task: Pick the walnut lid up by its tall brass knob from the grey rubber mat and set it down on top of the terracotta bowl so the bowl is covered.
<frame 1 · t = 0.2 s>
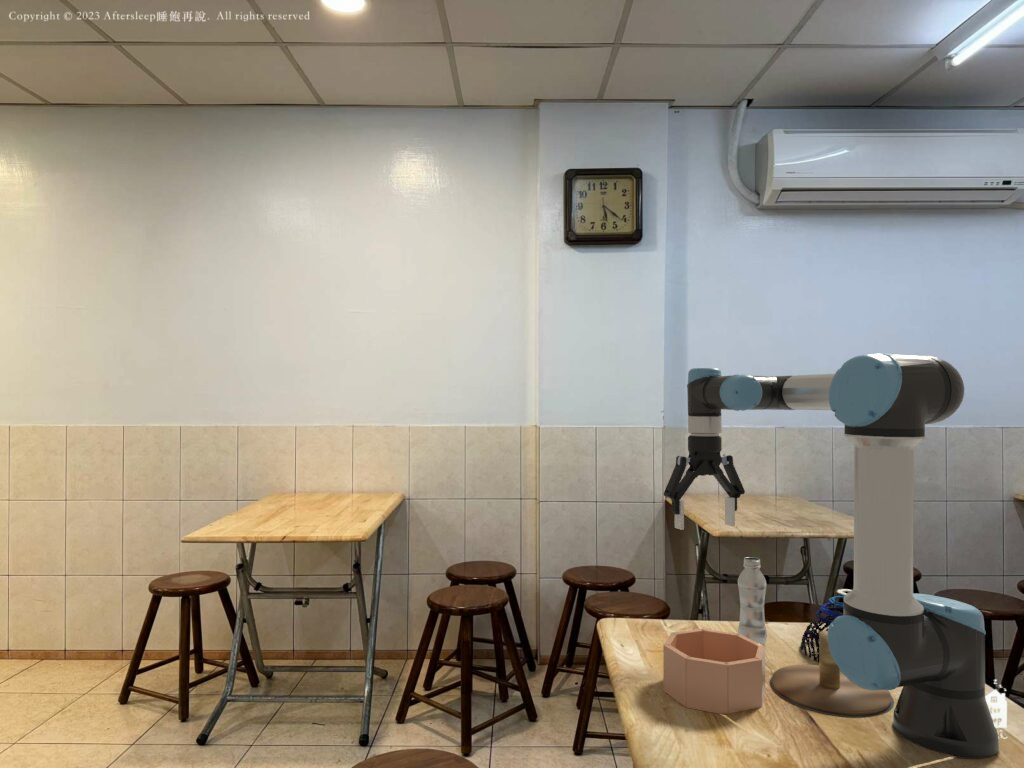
hand: (704, 527, 158), 28 cm above the table, fingers open, 13 cm apart
lid: (829, 690, 134), resting on mat
bowl: (714, 691, 134), on the table
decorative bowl: (850, 658, 153), on the table
plastic bottle: (752, 646, 159), on the table
mat: (829, 692, 134), on the table
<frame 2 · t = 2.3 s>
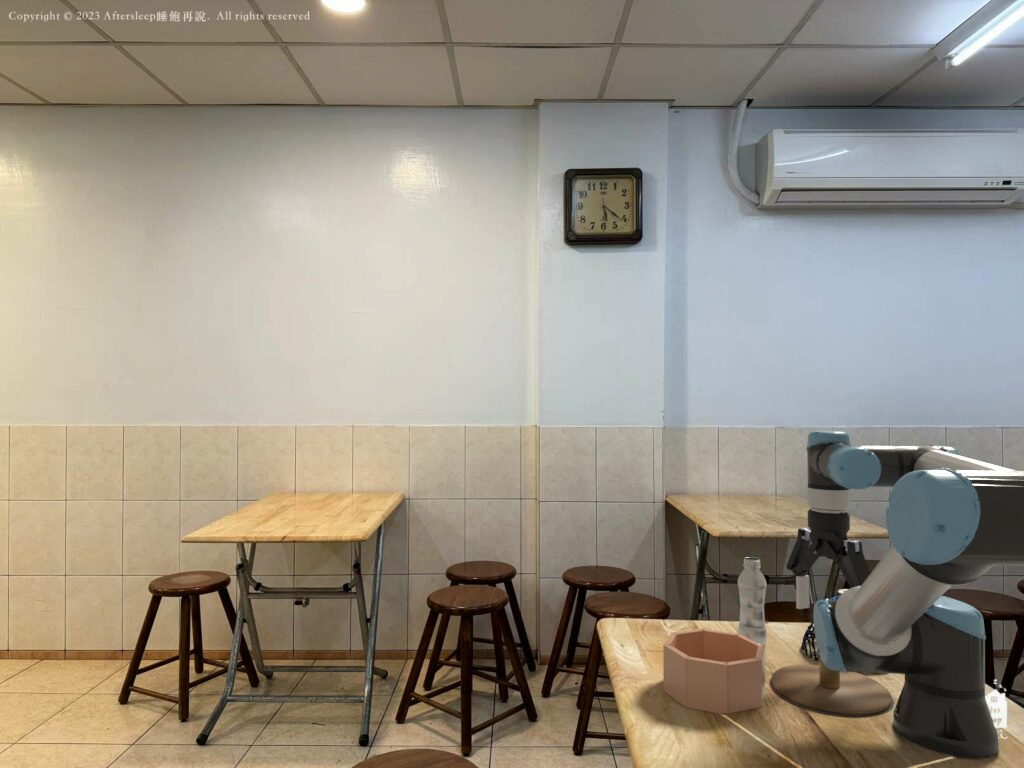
hand: (828, 618, 134), 14 cm above the table, fingers open, 13 cm apart
nothing on the table moved.
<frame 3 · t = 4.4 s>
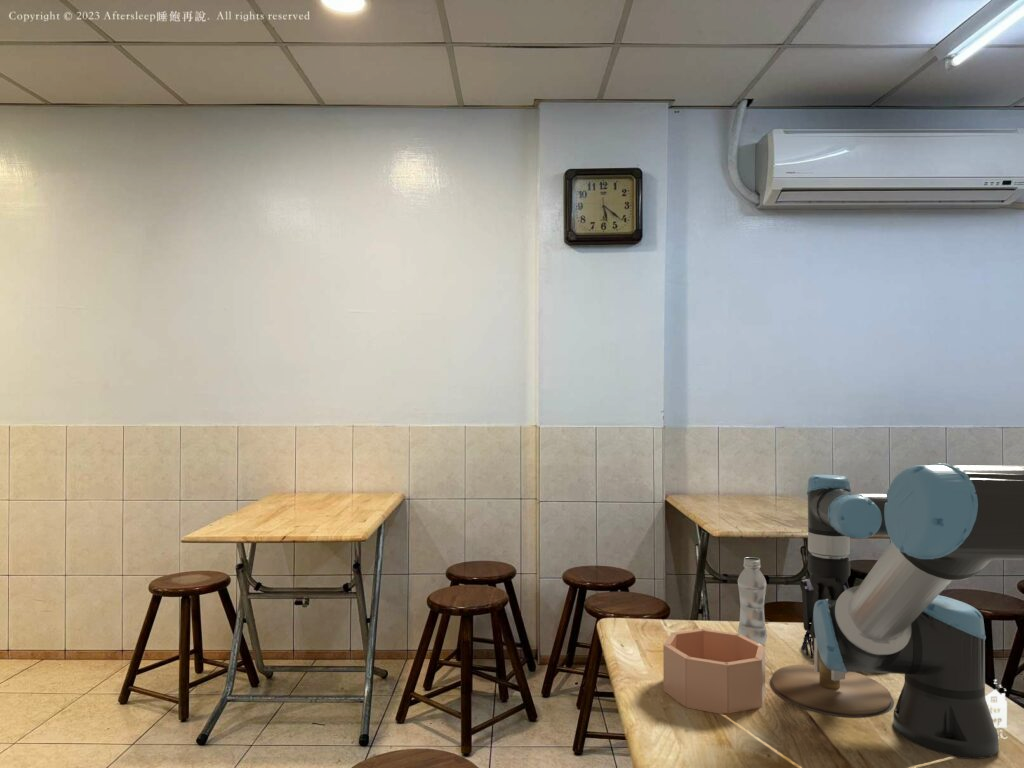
hand: (829, 674, 134), 4 cm above the table, fingers closed on lid, 4 cm apart
lid: (829, 690, 134), resting on mat, touching gripper
everything else where it was.
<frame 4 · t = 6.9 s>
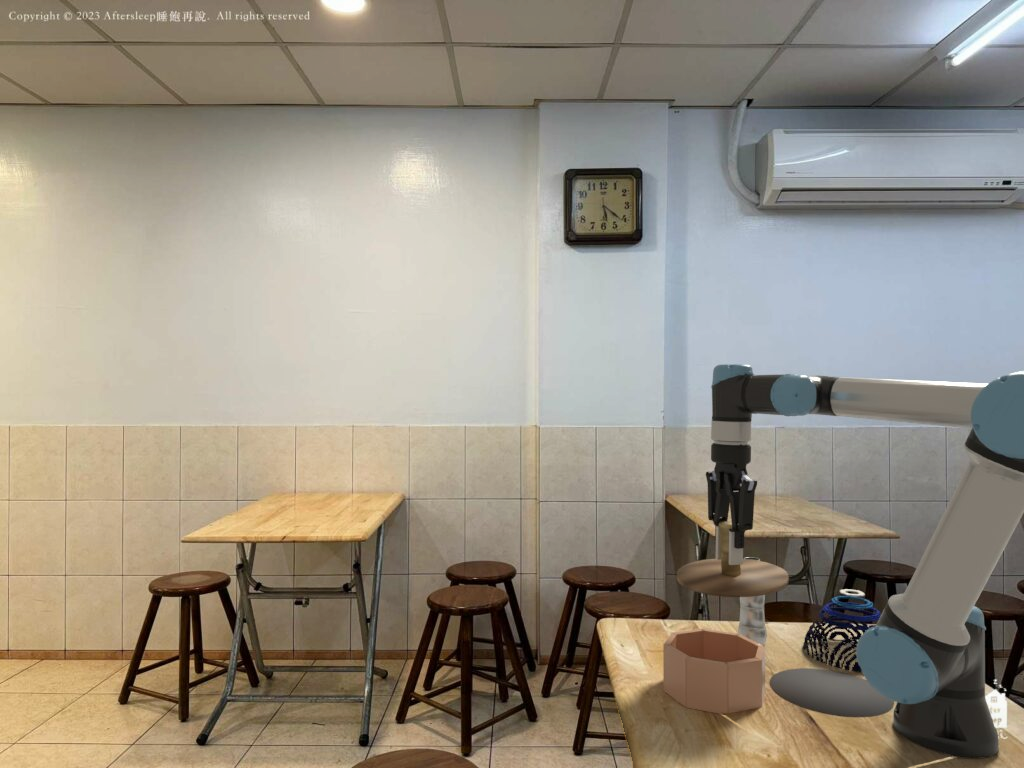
hand: (729, 561, 135), 25 cm above the table, fingers closed on lid, 4 cm apart
lid: (731, 578, 135), point 22 cm above the table, tilted 5°, touching gripper
everything else where it was.
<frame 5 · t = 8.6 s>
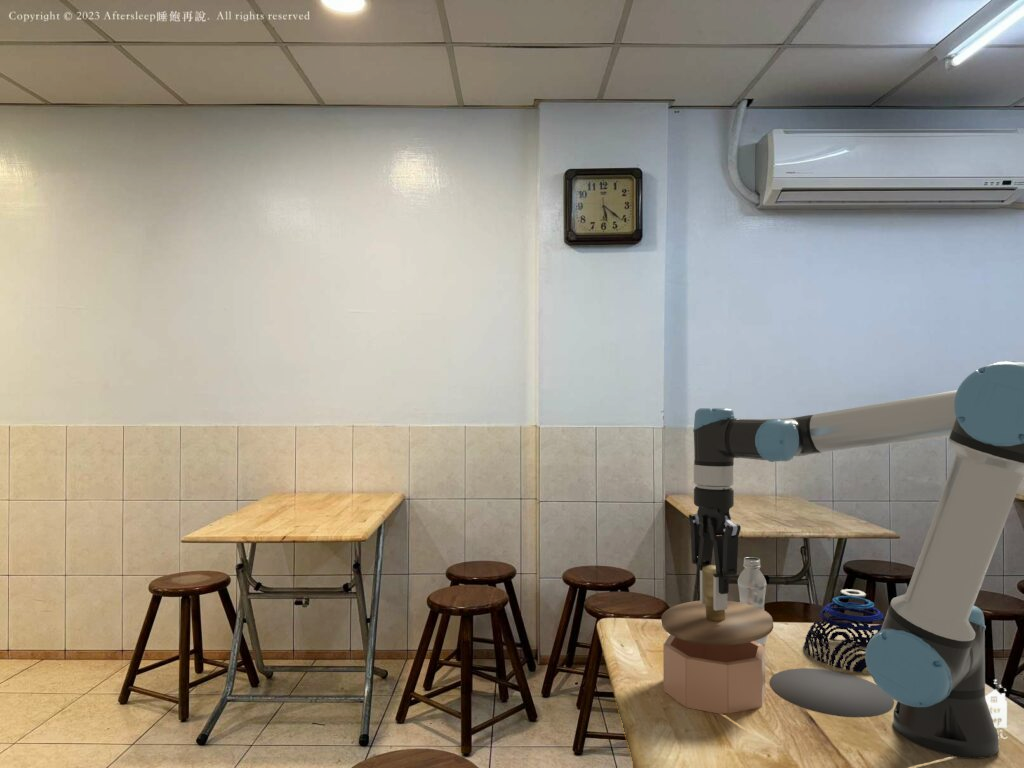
hand: (713, 605, 134), 17 cm above the table, fingers closed on lid, 4 cm apart
lid: (716, 623, 135), point 13 cm above the table, tilted 5°, touching gripper
everything else where it was.
when the fingers open (14 cm above the table, at t = 9.8 s): lid drops 1 cm, resting on bowl.
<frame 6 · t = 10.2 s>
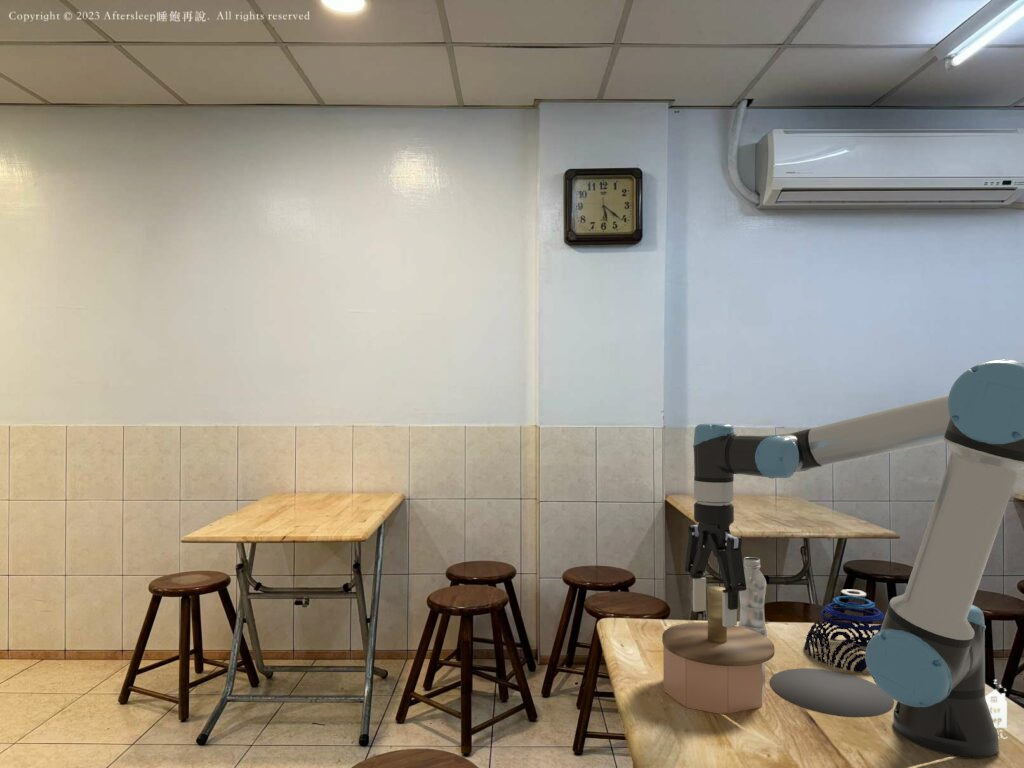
hand: (714, 617, 134), 14 cm above the table, fingers open, 9 cm apart
lid: (717, 645, 134), point 9 cm above the table, touching bowl
everything else where it was.
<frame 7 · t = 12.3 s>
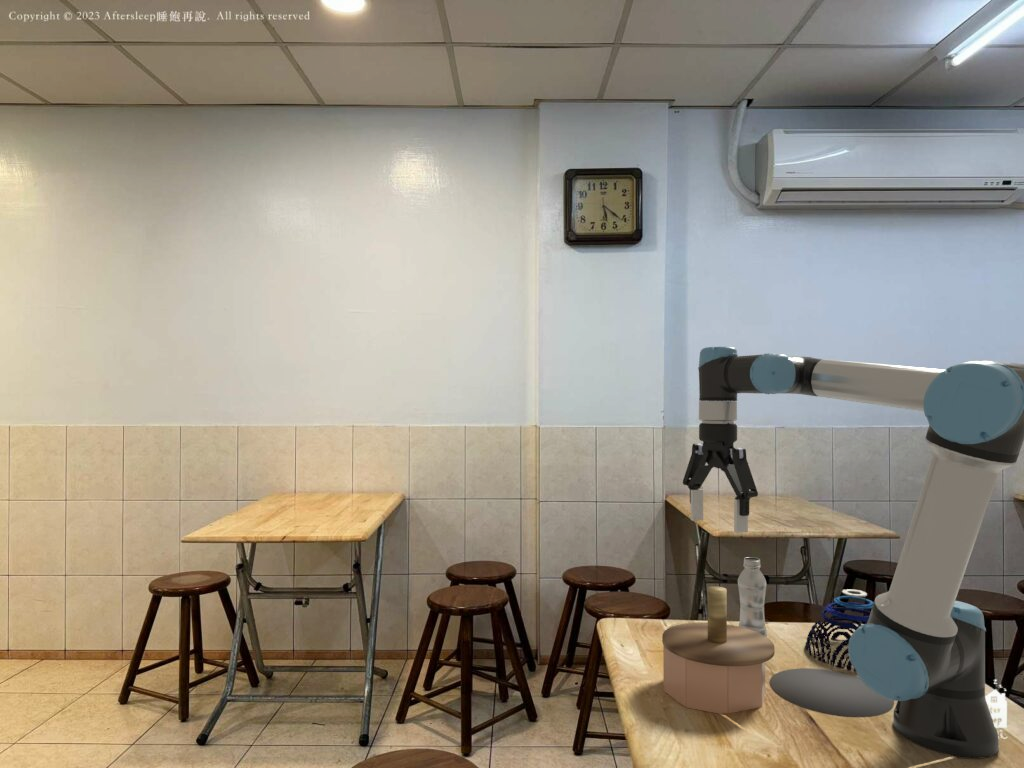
hand: (717, 526, 141), 31 cm above the table, fingers open, 13 cm apart
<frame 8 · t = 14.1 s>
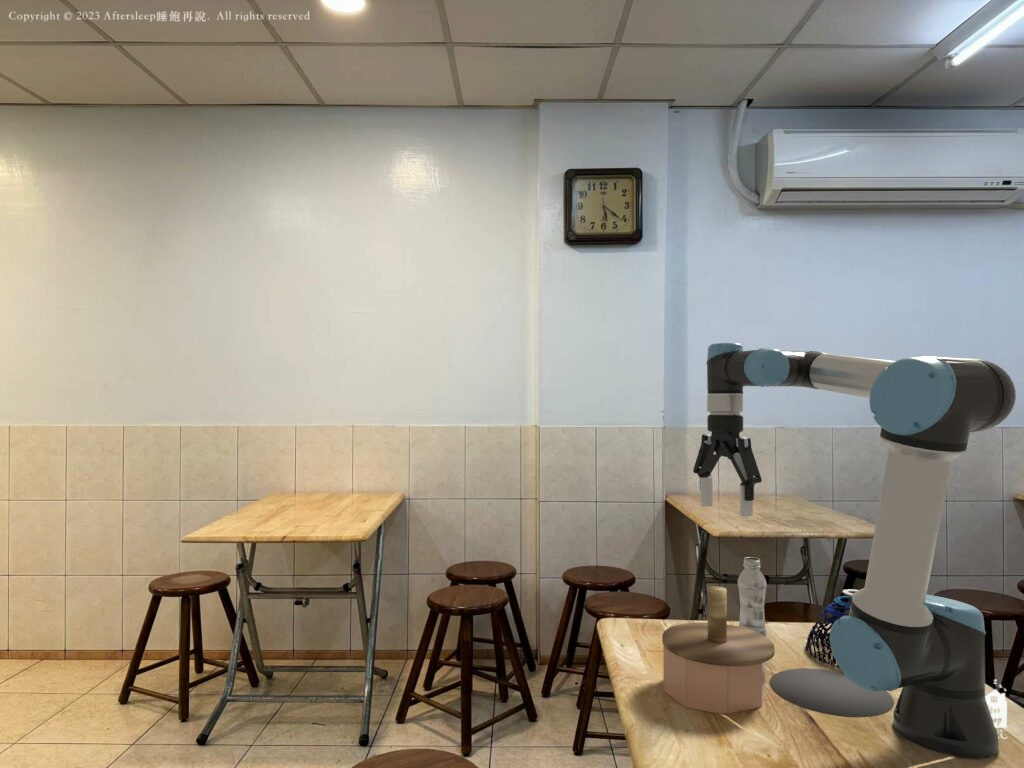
hand: (725, 511, 150), 33 cm above the table, fingers open, 13 cm apart
at the end: lid inside the target area on the bowl (0.7 cm from its centre), point 9.0 cm above the bowl's base; lid tilted 0°; the gripper is holding nothing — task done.
